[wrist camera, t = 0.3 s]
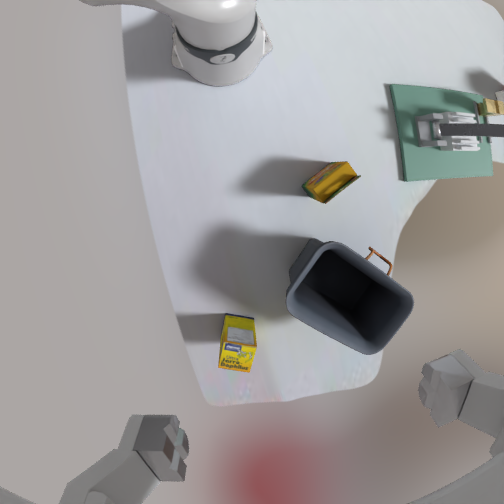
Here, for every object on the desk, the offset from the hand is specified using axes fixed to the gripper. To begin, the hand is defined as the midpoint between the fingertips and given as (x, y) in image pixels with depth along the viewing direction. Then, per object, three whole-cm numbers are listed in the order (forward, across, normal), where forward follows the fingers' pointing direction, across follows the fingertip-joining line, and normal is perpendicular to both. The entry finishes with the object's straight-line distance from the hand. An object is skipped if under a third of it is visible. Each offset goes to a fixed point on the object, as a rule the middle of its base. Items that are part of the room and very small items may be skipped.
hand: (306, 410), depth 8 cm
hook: (+46, -55, -16) cm, 74 cm away
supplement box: (+48, +7, +24) cm, 54 cm away
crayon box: (+48, -13, -3) cm, 49 cm away
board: (+47, -45, -10) cm, 66 cm away
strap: (+37, -44, -11) cm, 59 cm away
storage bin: (+48, -14, +15) cm, 52 cm away
